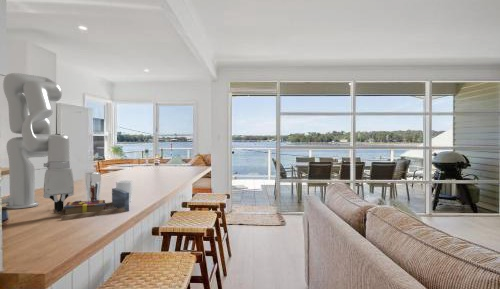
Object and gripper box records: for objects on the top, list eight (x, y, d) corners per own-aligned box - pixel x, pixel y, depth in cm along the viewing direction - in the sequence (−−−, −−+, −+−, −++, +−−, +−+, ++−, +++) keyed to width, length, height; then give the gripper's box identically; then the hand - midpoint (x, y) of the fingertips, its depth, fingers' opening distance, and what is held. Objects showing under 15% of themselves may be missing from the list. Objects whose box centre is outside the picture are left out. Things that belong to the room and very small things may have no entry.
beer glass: (104, 203, 160) (104, 172, 159) (92, 206, 154) (92, 174, 153) (94, 202, 163) (94, 171, 162) (81, 205, 156) (81, 173, 156)
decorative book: (67, 212, 144) (67, 200, 144) (108, 209, 150) (108, 198, 150) (63, 218, 133) (63, 205, 133) (107, 214, 140) (107, 203, 139)
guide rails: (62, 220, 128) (62, 199, 128) (53, 212, 140) (53, 193, 140) (128, 210, 145) (128, 192, 145) (115, 205, 157) (115, 188, 157)
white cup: (135, 200, 169) (135, 180, 169) (128, 203, 162) (128, 182, 161) (120, 199, 170) (120, 180, 170) (112, 202, 162) (112, 182, 162)
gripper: (38, 167, 126) (38, 215, 127) (81, 165, 136) (81, 210, 137) (35, 166, 132) (35, 212, 133) (76, 164, 142) (77, 207, 142)
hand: (58, 211), depth 135 cm, fingers closed
